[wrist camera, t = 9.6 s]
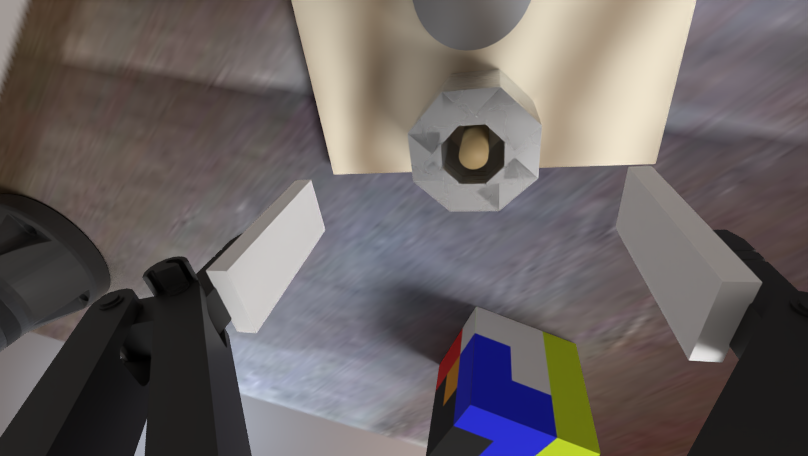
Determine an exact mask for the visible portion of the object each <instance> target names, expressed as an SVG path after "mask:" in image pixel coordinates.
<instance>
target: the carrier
mask: <svg viewBox="0 0 808 456" xmlns="http://www.w3.org/2000/svg"><path fill="white" fill-rule="evenodd" d="M291 1H292V5H293V9H294V13H295V17H296V22H297V26H298V30H299V34H300V38H301V42H302V46H303V50H304V54H305V58H306V63H307V67H308V71H309V75H310V79H311V83H312V87H313V91H314V95H315V99H316V104H317V108H318V112H319V116H320V120H321V124H322V128H323V132H324V136H325V140H326V144H327V149H328V153H329V157H330V161H331V165H332V169H333V173H334V174H362V173H392V172H412V167H411V159H410V151H409V142H408V132H409V130H410V129H411V127H412V125H413V124H414V122H415V121H416V119H417V117H418V116H419V114H420V112H421V111H422V109H423V108H424V107H425V106H426V104H427V103H428V102H429V101H430V99H431V98H432V97H433V96H434V94H435V93H436V92H437V91H438V89H439V88H440V87H441V86H442V85H443V83H444V82H445V81H446V80H447V78H448V77H449V76H450V75H451V74H452V73H462V72H472V71H483V70H493V69H500V70H501V71H502V72H503V73H504V74H506V75H507V76H508V77H509V78H510V79H511V80H512V81H513V82H514V83H515V84H516V85H517V86H518V87H519V88H520V89H521V90H522V91H523V92H524V93H526V94H527V95H528V96H529V97H530V98H531V99H532V100H533V101H534V104H535V107H536V110H537V113H538V116H539V118H540V121H541V124H542V133H541V146H540V160H539V168H543V167H574V166H604V165H634V164H655V163H656V160H657V156H658V152H659V148H660V144H661V140H662V136H663V132H664V128H665V124H666V120H667V116H668V112H669V108H670V104H671V100H672V96H673V92H674V88H675V84H676V80H677V76H678V72H679V68H680V64H681V60H682V56H683V52H684V48H685V44H686V40H687V36H688V32H689V28H690V24H691V20H692V16H693V12H694V8H695V4H696V0H291ZM500 139H501V138H500V137H499V136H498V135H497V134H496V133H494V132H493V131H492V130H491V129H490V128H489V127H488V126H487V125H486V124H482V125H467V126H458V127H457V128H456V129H455V130H454V131H453V132H452V133H451V140H453V141H454V142H455V143H456V144H457V145H458V146H459V147H460V151H459V160H460V162H461V164H462V165H463V166H465V167H466V168H469V169H478V168H481V167H482V166H484V165H485V163H486V162H487V160H488V154H489V150H490V149H491V148H492V147H493V146H494V145H495V144H496V143H497V142H498V141H499V140H500Z"/></svg>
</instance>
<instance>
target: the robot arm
mask: <svg viewBox="0 0 808 456" xmlns="http://www.w3.org/2000/svg"><path fill="white" fill-rule="evenodd" d="M616 230H617V232H618V233H619V235H620V237H621V239H622V241H623V242H624V244H625V246H626V248H627V250H628V251H629V253H630V255H631V257H632V259H633V260H634V262H635V264H636V266H637V268H638V269H639V271H640V273H641V275H642V277H643V278H644V280H645V282H646V284H647V286H648V287H649V289H650V291H651V293H652V295H653V297H654V298H655V300H656V302H657V304H658V306H659V307H660V309H661V311H662V313H663V315H664V316H665V318H666V320H667V322H668V324H669V325H670V327H671V329H672V331H673V333H674V334H675V336H676V338H677V340H678V342H679V343H680V345H681V347H682V349H683V351H684V352H685V354H686V356H687V358H688V360H693V361H709V362H722V361H723V359H724V357H725V356H726V354H727V352H728V350H729V348H730V347H731V348H732V350H733V351H734V353H735V354H736V356H737V357H738V359H739V361H738V363H737V365H736V367H735V368H734V370H733V372H732V374H731V376H730V378H729V379H728V381H727V383H726V385H725V387H724V389H723V390H722V392H721V394H720V396H719V398H718V400H717V401H716V403H715V405H714V407H713V409H712V411H711V412H710V414H709V416H708V418H707V420H706V422H705V423H704V425H703V427H702V429H701V431H700V433H699V435H698V436H697V438H696V440H695V442H694V444H693V446H692V447H691V449H690V451H689V453H688V455H687V456H808V293H807V292H803V291H798V290H797V289H796V288H795V287H794V286H793V285H792V284H791V283H789V282H788V281H787V280H786V279H785V278H784V277H783V276H782V275H781V274H780V273H779V272H778V271H777V270H776V269H775V268H774V267H773V266H772V265H771V264H770V263H769V262H765V259H764V258H763V257H762V256H761V255H760V254H759V253H758V252H756V250H755V249H754V248H753V247H752V246H751V245H750V244H749V243H748V242H747V241H745V240H744V239H743V238H741V237H739V236H737V235H735V234H733V233H731V232H730V231H728V230H712V229H711V228H710V227H709V226H708V225H707V224H706V223H705V222H704V221H703V220H702V219H701V218H700V217H699V215H698V214H697V213H696V212H695V211H694V210H693V209H692V208H691V207H690V206H689V205H688V204H687V203H686V202H685V201H684V200H683V199H682V198H681V197H680V196H679V195H678V193H677V192H676V191H675V190H674V189H673V188H672V187H671V186H670V185H669V184H668V183H667V182H666V181H665V180H664V179H663V178H662V177H661V176H660V175H659V174H658V173H657V172H656V170H655V169H654V168H653V167H652V166H638V167H628V172H627V176H626V181H625V186H624V191H623V195H622V200H621V205H620V210H619V214H618V219H617V224H616ZM324 231H325V227H324V224H323V220H322V217H321V213H320V209H319V206H318V202H317V199H316V195H315V192H314V188H313V185H312V181H311V180H296V181H295V182H294V183H293V184H292V185H291V186H290V187H289V188H288V189H287V190H286V191H285V192H284V193H283V194H282V195H281V196H280V197H279V198H278V199H277V200H276V201H275V202H274V203H273V204H272V205H271V206H270V207H269V208H268V209H267V210H266V211H265V212H264V213H263V214H262V215H261V216H260V217H259V218H258V219H257V220H256V221H255V222H254V223H253V224H252V225H251V226H250V227H249V228H248V229H247V230H246V231H245V232H244V233H242V234H240V235H239V236H237V237H235V238H234V239H232V240H230V241H229V242H228V243H227V244H226V245H225V246H224V247H223V248H222V250H220V251H219V252H218V253H217V254H216V255H215V257H213V258H212V259H211V260H210V261H209V262H208V263H207V264H206V265H205V266H204V267H203V268H202V269H201V270H200V271H199V272H198V273H197V274H195V272H194V270H193V269H192V267H191V265H190V263H189V261H188V260H187V258H185V257H172V258H169V259H165V260H163V261H161V262H158V263H157V264H155V265H153V266H152V267H150V268H149V269H148V270H147V271H146V272H145V273H144V275H143V277H142V278H143V279H144V281H145V282H146V284H147V285H148V287H149V289H150V290H151V292H152V293H153V295H154V297H148V298H143V299H139V298H138V297H137V295H136V294H135V292H134V291H133V290H132V289H121V290H117V291H114V292H110V293H108V294H107V295H106V294H105V293H106V292H107V291H108V289H109V287H110V274H109V271H108V268H107V266H106V263H105V262H104V260H103V258H102V256H101V255H100V253H99V252H98V250H97V249H96V248H95V246H94V245H93V244H92V243H91V242H90V240H89V239H88V238H87V237H86V236H85V235H84V234H83V233H82V232H81V231H80V230H79V229H78V228H76V227H75V226H74V225H73V224H72V223H70V222H69V221H68V220H67V219H65V218H64V217H63V216H61V215H60V214H58V213H57V212H55V211H53V210H52V209H50V208H48V207H47V206H45V205H43V204H41V203H39V202H36V201H34V200H32V199H29V198H26V197H23V196H19V195H13V194H1V195H0V352H1V351H2V350H4V348H6V347H8V346H9V345H10V344H12V343H13V342H14V341H16V340H17V339H18V338H20V337H21V336H23V335H24V334H26V333H27V332H29V331H31V330H34V329H36V328H39V327H41V326H43V325H46V324H48V323H51V322H53V321H55V320H58V319H60V318H63V317H65V316H67V315H70V314H72V313H75V312H77V311H79V310H82V309H84V308H86V307H88V306H90V305H91V304H92V303H93V304H92V305H91V306H90V307H89V309H88V310H87V312H86V313H85V314H84V316H83V317H82V319H81V320H80V322H79V323H78V325H77V326H76V328H75V329H74V331H73V332H72V333H71V335H70V336H69V338H68V339H67V341H66V342H65V344H64V345H63V347H62V348H61V350H60V351H59V353H58V354H57V355H56V357H55V358H54V360H53V361H52V363H51V364H50V366H49V367H48V369H47V370H46V371H45V373H44V375H43V376H42V377H41V379H40V381H39V382H38V383H37V385H36V386H35V388H34V389H33V390H32V392H31V393H30V395H29V396H28V398H27V399H26V401H25V402H24V404H23V405H22V407H21V408H20V410H19V411H18V413H17V414H16V415H15V417H14V418H13V420H12V421H11V423H10V424H9V426H8V427H7V429H6V430H5V432H4V433H3V434H2V436H1V437H0V456H134V454H135V451H136V448H137V445H138V442H139V440H140V437H141V434H142V431H143V428H144V425H145V422H146V419H147V429H146V444H145V445H146V446H145V456H252V455H251V450H250V445H249V440H248V434H247V429H246V424H245V419H244V414H243V408H242V403H241V398H240V392H239V387H238V382H237V376H236V371H235V366H234V361H233V355H232V350H231V345H230V339H229V335H228V333H227V331H226V329H225V327H226V326H227V325H228V323H229V322H230V321H231V320H232V322H233V324H234V326H235V328H236V330H237V332H248V333H257V332H258V330H259V329H260V327H261V326H262V324H263V323H264V321H265V320H266V318H267V317H268V315H269V314H270V312H271V311H272V309H273V308H274V306H275V305H276V303H277V302H278V300H279V299H280V297H281V296H282V294H283V293H284V291H285V290H286V288H287V287H288V285H289V284H290V282H291V281H292V279H293V278H294V276H295V275H296V273H297V272H298V270H299V269H300V267H301V266H302V264H303V263H304V261H305V260H306V258H307V257H308V255H309V254H310V252H311V251H312V249H313V248H314V246H315V245H316V243H317V242H318V240H319V239H320V237H321V236H322V234H323V233H324ZM104 294H105V295H104ZM103 295H104V296H103ZM100 297H101V298H100ZM99 298H100V299H99ZM96 300H97V301H96ZM95 301H96V302H95ZM120 356H121V357H122V358H120Z"/></svg>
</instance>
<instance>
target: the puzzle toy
mask: <svg viewBox="0 0 808 456" xmlns="http://www.w3.org/2000/svg"><path fill="white" fill-rule="evenodd" d="M599 455H600V449H599V445H598V441H597V436H596V432H595V427H594V423H593V418H592V414H591V410H590V405H589V401H588V396H587V392H586V387H585V383H584V378H583V374H582V370H581V365H580V361H579V356H578V352H577V347H576V344H574V343H572V342H569V341H567V340H564V339H561V338H559V337H556V336H553V335H551V334H548V333H546V332H543V331H540V330H538V329H535V328H532V327H530V326H527V325H525V324H522V323H519V322H517V321H514V320H511V319H509V318H506V317H503V316H501V315H498V314H496V313H493V312H490V311H488V310H485V309H482V308H480V307H477V306H476V307H475V309H474V311H473V312H472V314H471V315H470V317H469V319H468V320H467V322H466V323H465V325H464V327H463V328H462V330H461V331H460V333H459V335H458V336H457V338H456V339H455V341H454V343H453V344H452V346H451V347H450V349H449V351H448V352H447V354H446V355H445V357H444V359H443V360H442V362H441V363H440V365H439V372H438V379H437V385H436V392H435V399H434V406H433V412H432V419H431V426H430V432H429V439H428V446H427V452H426V456H599Z"/></svg>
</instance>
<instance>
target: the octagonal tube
mask: <svg viewBox="0 0 808 456" xmlns="http://www.w3.org/2000/svg"><path fill="white" fill-rule="evenodd" d="M482 124H486V125H487V126H488V127H489V128H490V129H491V130H492V131H493V132H494V133H496V134H497V135H498V136H499V137H500V138H501V139H500V140H499V141H498V142H497V143H496V144H495V145H494V146H493V147H492V148H491V149H490V150H489V154H488V160H487V162H486V163H485V165H484V166H482V167H481V168H478V169H469V168H466V167H465V166H463V165H462V164H461V162H460V160H459V151H460V147H459V146H458V145H457V144H456V143H455V142H454V141H453V140H451V133H452V132H453V131H454V130H455V129H456V128H457V127H458V126H467V125H482ZM541 133H542V124H541V121H540V118H539V116H538V113H537V110H536V107H535V104H534V101H533V100H532V99H531V98H530V97H529V96H528V95H527V94H526V93H524V92H523V91H522V90H521V89H520V88H519V87H518V86H517V85H516V84H515V83H514V82H513V81H512V80H511V79H510V78H509V77H508V76H507V75H506V74H504V73H503V72H502V71H501V70H500V69H493V70H483V71H472V72H462V73H452V74H451V75H450V76H449V77H448V78H447V80H446V81H445V82H444V83H443V85H442V86H441V87H440V88H439V89H438V91H437V92H436V93H435V94H434V96H433V97H432V98H431V99H430V101H429V102H428V103H427V104H426V106H425V107H424V108H423V109H422V111H421V112H420V114H419V116H418V117H417V119H416V121H415V122H414V124H413V125H412V127H411V129H410V130H409V132H408V142H409V151H410V159H411V167H412V175H413V182H414V183H416V184H417V185H418V186H419V187H421V188H422V189H423V190H424V191H426V192H427V193H428V194H429V195H431V196H432V197H433V198H434V199H435V200H437V201H438V202H439V203H440V204H442V205H443V206H444V207H445V208H447V209H448V210H449V211H500V210H501V209H502V208H503V207H504V206H506V205H507V204H508V203H509V202H510V201H512V200H513V199H514V198H515V197H516V196H518V195H519V194H520V193H521V192H522V191H523V190H525V189H526V188H527V187H528V186H529V185H531V184H532V183H533V182H534V181H535V180H537V179H538V174H539V160H540V146H541Z"/></svg>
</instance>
